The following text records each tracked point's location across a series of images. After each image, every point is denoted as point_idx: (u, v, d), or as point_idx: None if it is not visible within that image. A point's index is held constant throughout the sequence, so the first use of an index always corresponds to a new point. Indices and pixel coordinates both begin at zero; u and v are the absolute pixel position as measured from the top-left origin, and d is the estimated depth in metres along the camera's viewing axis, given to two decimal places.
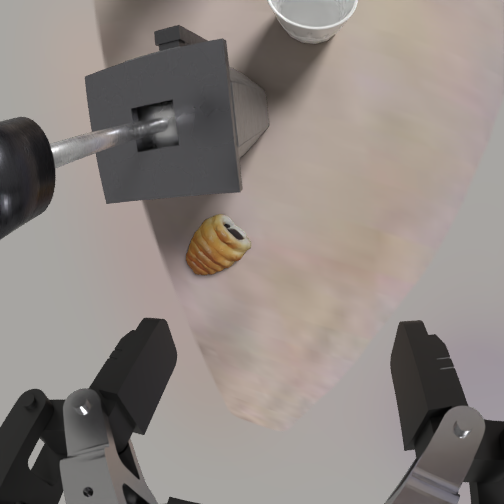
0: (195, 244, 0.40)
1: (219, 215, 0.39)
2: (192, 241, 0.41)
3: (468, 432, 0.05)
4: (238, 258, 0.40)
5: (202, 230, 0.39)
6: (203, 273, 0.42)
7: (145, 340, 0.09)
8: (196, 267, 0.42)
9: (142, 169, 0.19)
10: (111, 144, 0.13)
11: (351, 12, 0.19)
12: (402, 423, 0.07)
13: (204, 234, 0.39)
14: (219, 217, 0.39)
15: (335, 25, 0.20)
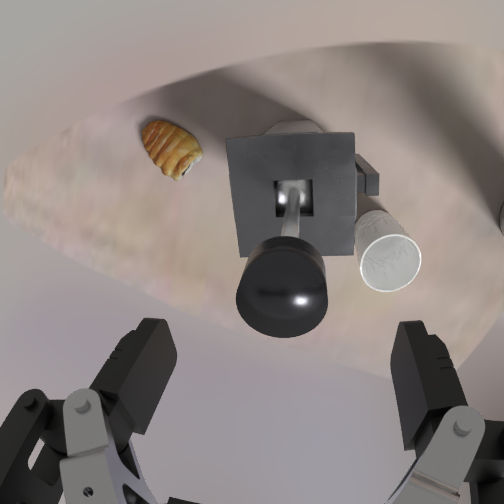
0: (171, 133, 0.39)
1: (201, 153, 0.41)
2: (173, 129, 0.39)
3: (468, 432, 0.05)
4: (164, 174, 0.42)
5: (186, 139, 0.39)
6: (144, 140, 0.40)
7: (145, 340, 0.09)
8: (149, 134, 0.39)
9: (257, 183, 0.24)
10: None
11: (371, 286, 0.36)
12: (402, 423, 0.07)
13: (182, 143, 0.39)
14: (200, 154, 0.41)
15: (362, 276, 0.36)
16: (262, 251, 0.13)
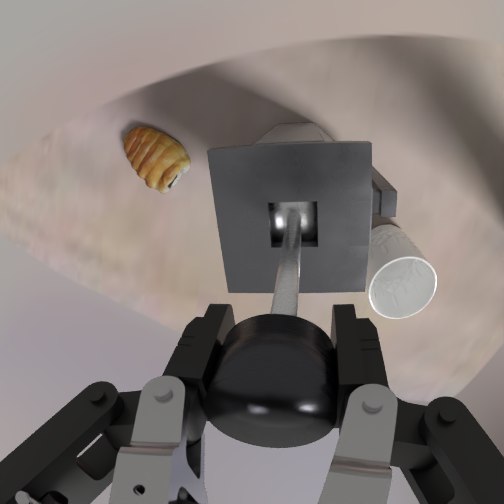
0: (155, 140, 0.34)
1: (189, 162, 0.36)
2: (157, 136, 0.35)
3: (376, 409, 0.06)
4: (149, 186, 0.37)
5: (171, 147, 0.35)
6: (126, 149, 0.36)
7: (218, 325, 0.10)
8: (131, 142, 0.35)
9: (248, 205, 0.19)
10: None
11: (380, 313, 0.32)
12: None
13: (167, 152, 0.35)
14: (187, 163, 0.36)
15: (370, 302, 0.31)
16: (242, 343, 0.08)
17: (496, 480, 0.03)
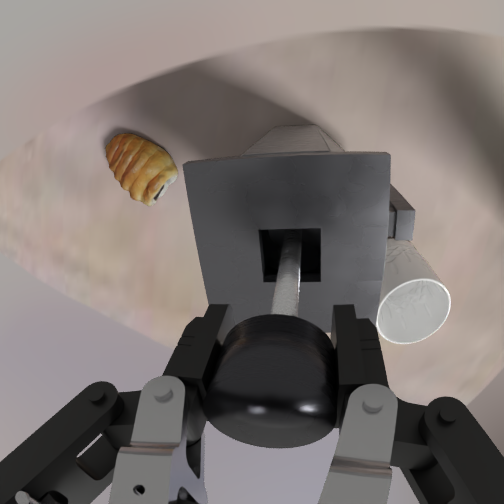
0: (138, 148, 0.31)
1: (176, 171, 0.33)
2: (140, 143, 0.31)
3: (376, 409, 0.06)
4: None
5: (156, 155, 0.31)
6: (108, 158, 0.32)
7: (218, 325, 0.10)
8: (112, 151, 0.31)
9: (234, 232, 0.15)
10: None
11: (387, 339, 0.28)
12: None
13: (151, 161, 0.31)
14: (174, 173, 0.33)
15: (377, 328, 0.28)
16: (242, 343, 0.08)
17: (497, 480, 0.03)
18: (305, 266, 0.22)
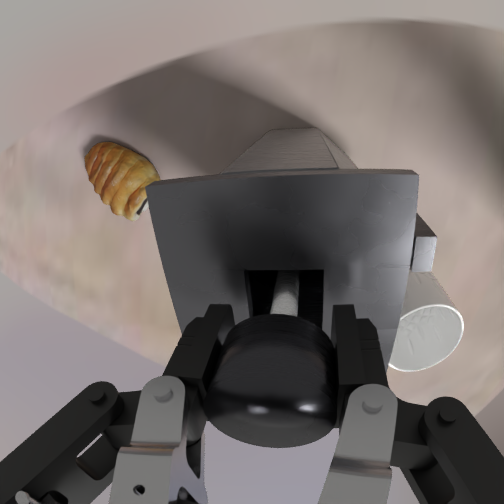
0: (117, 159, 0.28)
1: None
2: (120, 153, 0.28)
3: (375, 409, 0.06)
4: None
5: (137, 166, 0.28)
6: (87, 170, 0.29)
7: (218, 325, 0.10)
8: (91, 162, 0.28)
9: (213, 273, 0.12)
10: None
11: (393, 367, 0.25)
12: None
13: (131, 172, 0.28)
14: None
15: None
16: (242, 342, 0.08)
17: (496, 480, 0.03)
18: None
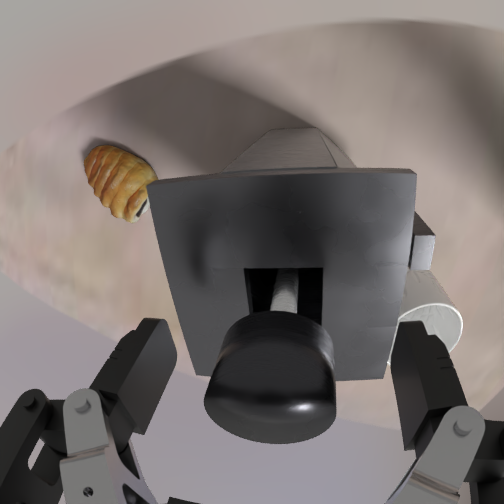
0: (116, 162, 0.28)
1: None
2: (119, 156, 0.28)
3: (468, 432, 0.05)
4: (115, 216, 0.31)
5: (136, 169, 0.28)
6: (86, 173, 0.29)
7: (145, 340, 0.09)
8: (90, 165, 0.29)
9: (213, 271, 0.12)
10: None
11: None
12: (402, 423, 0.07)
13: (130, 175, 0.28)
14: None
15: None
16: (242, 338, 0.08)
17: None
18: None
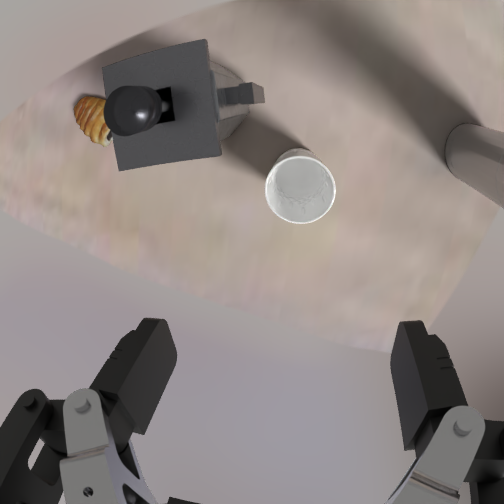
0: (95, 104, 0.39)
1: None
2: (97, 100, 0.39)
3: (468, 432, 0.05)
4: (93, 141, 0.41)
5: None
6: (75, 115, 0.40)
7: (145, 340, 0.09)
8: (78, 109, 0.39)
9: None
10: None
11: (282, 217, 0.36)
12: (402, 423, 0.07)
13: (103, 110, 0.39)
14: None
15: (269, 205, 0.35)
16: None
17: None
18: None
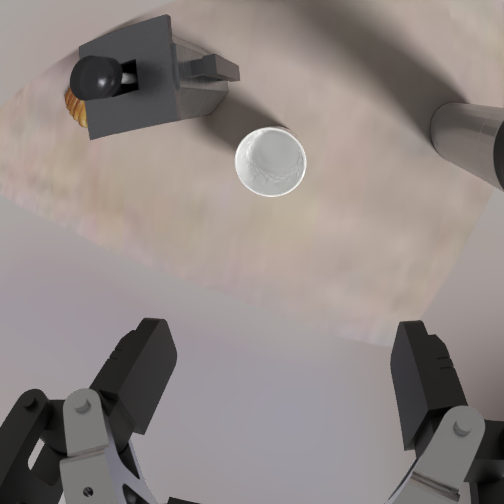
0: None
1: None
2: None
3: (468, 432, 0.05)
4: (81, 125, 0.41)
5: None
6: (65, 101, 0.40)
7: (145, 340, 0.09)
8: (68, 95, 0.39)
9: None
10: (134, 83, 0.25)
11: (252, 190, 0.35)
12: (402, 423, 0.07)
13: None
14: None
15: (239, 178, 0.35)
16: None
17: None
18: None
